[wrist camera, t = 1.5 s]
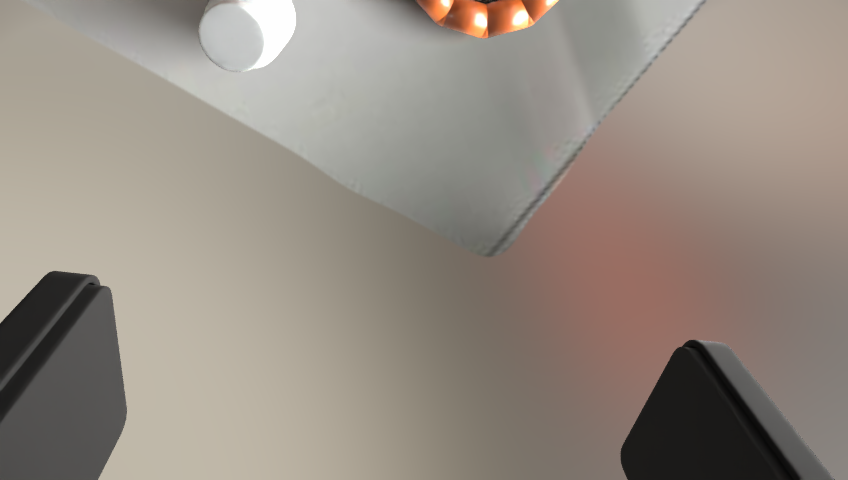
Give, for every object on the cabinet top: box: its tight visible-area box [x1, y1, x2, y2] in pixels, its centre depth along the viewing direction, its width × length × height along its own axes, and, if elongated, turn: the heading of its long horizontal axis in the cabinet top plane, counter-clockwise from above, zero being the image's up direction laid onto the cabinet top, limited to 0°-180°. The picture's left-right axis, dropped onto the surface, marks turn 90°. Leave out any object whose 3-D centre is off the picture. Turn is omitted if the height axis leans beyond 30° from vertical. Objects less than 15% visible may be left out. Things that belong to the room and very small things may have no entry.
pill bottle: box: [198, 0, 296, 72], centre depth 32 cm, size 4×4×8 cm
